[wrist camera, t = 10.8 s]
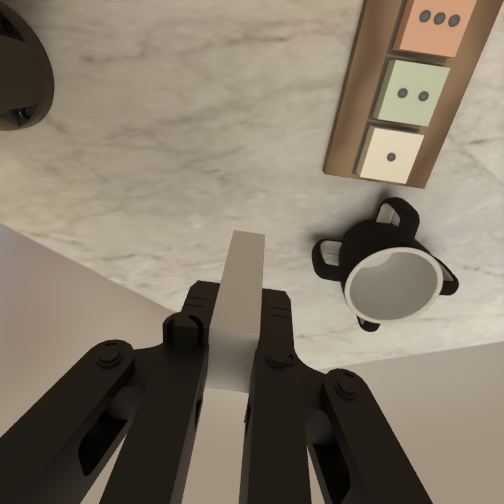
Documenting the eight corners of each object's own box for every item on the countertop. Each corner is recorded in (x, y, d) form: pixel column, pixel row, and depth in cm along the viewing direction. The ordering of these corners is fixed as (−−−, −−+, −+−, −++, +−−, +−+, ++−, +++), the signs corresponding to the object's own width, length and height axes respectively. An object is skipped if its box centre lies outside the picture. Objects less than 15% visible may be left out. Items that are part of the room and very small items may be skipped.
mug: (435, 260, 51) (476, 308, 41) (343, 299, 56) (359, 350, 46) (400, 176, 45) (438, 207, 34) (300, 228, 50) (307, 269, 39)
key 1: (355, 171, 43) (360, 177, 40) (369, 125, 40) (375, 128, 37) (399, 178, 43) (406, 184, 40) (416, 132, 40) (425, 135, 37)
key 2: (372, 116, 39) (378, 119, 37) (389, 60, 36) (397, 59, 34) (419, 123, 39) (428, 126, 37) (440, 68, 36) (451, 68, 34)
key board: (322, 170, 45) (324, 174, 43) (371, -30, 34) (376, -36, 32) (418, 184, 45) (424, 189, 43) (497, -11, 34) (510, -15, 32)
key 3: (392, 50, 36) (400, 48, 33) (412, -18, 33) (423, -25, 30) (444, 58, 36) (455, 57, 33) (469, -9, 33) (484, -16, 30)
